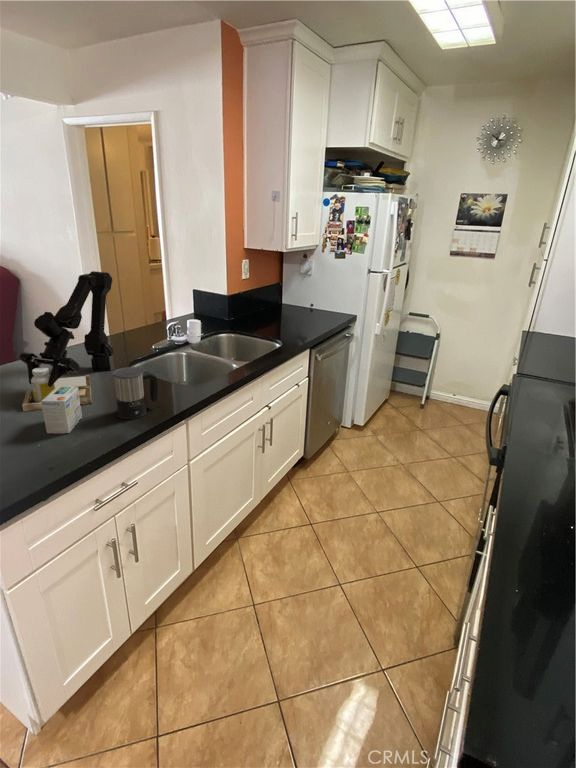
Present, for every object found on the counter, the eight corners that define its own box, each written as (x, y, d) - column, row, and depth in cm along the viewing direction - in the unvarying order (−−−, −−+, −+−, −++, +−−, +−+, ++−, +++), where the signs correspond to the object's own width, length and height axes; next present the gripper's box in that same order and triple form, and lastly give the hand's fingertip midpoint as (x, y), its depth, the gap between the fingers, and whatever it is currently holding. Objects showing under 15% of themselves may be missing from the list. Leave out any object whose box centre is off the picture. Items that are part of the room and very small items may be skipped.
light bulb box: (61, 417, 131) (56, 386, 127) (83, 417, 132) (78, 386, 127) (45, 433, 121) (39, 400, 117) (69, 434, 122) (64, 401, 118)
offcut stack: (86, 394, 148) (85, 387, 147) (87, 401, 143) (86, 394, 142) (64, 397, 145) (63, 390, 144) (64, 404, 140) (63, 397, 139)
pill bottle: (61, 399, 142) (56, 368, 138) (45, 406, 136) (39, 374, 132) (46, 396, 144) (41, 365, 140) (30, 403, 138) (24, 370, 134)
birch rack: (91, 390, 151) (89, 374, 149) (91, 403, 141) (89, 387, 139) (27, 396, 143) (24, 380, 141) (23, 411, 133) (19, 394, 131)
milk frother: (129, 422, 130) (125, 379, 125) (98, 408, 138) (93, 367, 132) (163, 407, 142) (161, 367, 136) (133, 395, 149) (130, 356, 143)
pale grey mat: (89, 377, 162) (89, 375, 162) (89, 389, 151) (89, 388, 151) (51, 380, 157) (51, 379, 156) (49, 393, 146) (48, 392, 146)
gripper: (93, 357, 149) (78, 397, 143) (46, 351, 151) (29, 390, 145) (77, 342, 138) (60, 384, 132) (27, 336, 141) (8, 377, 135)
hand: (39, 385), depth 136 cm, fingers closed on pill bottle, 6 cm apart
